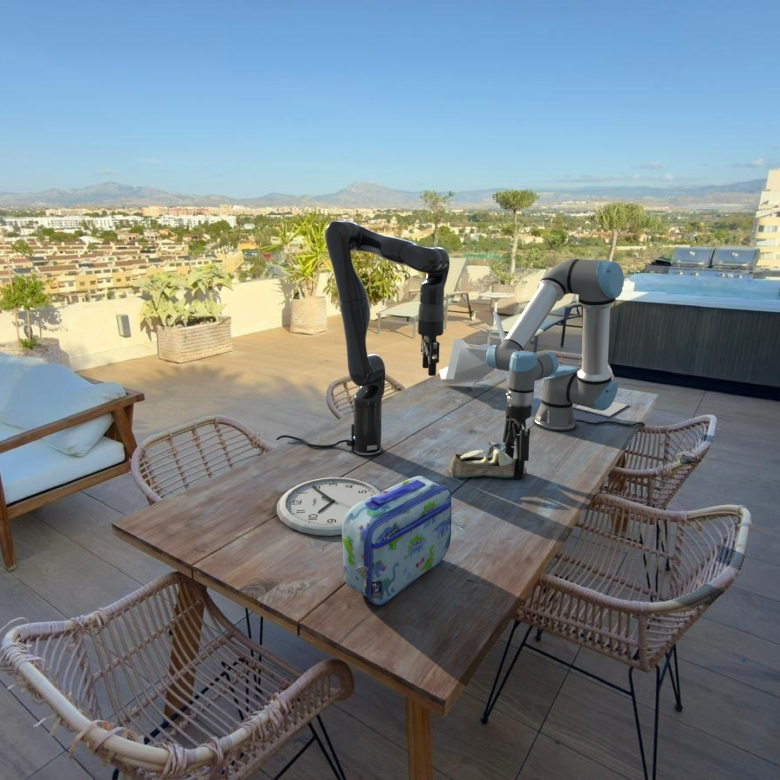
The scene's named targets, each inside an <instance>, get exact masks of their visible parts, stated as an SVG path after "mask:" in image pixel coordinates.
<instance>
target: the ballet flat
mask: <svg viewBox="0 0 780 780" xmlns="http://www.w3.org/2000/svg"><path fill="white" fill-rule="evenodd" d="M480 454H484V456H478V455H480ZM514 459H515V458H514V457H513V458H511V457H509V456H508V455H507V454H505V452H503V451H502V450H501V449H499V448H493V450H492V456H488V455H487V453H486V451H485V449H476V450H471V451H468V452H466V453H464V454H459V453H454V454H453V456H452V457H451V459H450V462H449V464H448V471H449V473H450V475H451V477H453V478H456V479H467V478H475V477H483V476H493V477H494V478H495V477H496V478H513V477H514V466H515V460H514ZM527 471H528V470H527V467H525V466H524V472H523V475H524V474H526V473H527Z"/></svg>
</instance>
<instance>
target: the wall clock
mask: <svg viewBox="0 0 780 780" xmlns="http://www.w3.org/2000/svg"><path fill="white" fill-rule="evenodd" d="M380 492H382V491H381V490H380V489H379V488H377V487H376V486H374V485H372V484H371V483H369V482H365V481H362V480H359V479H355V478H349V477H338V476H337V477H335V476H333V477H332V476H331V477H322V478H317V479H312V480H307V481H305V482H302V483H299V484H297V485H295V486H293V487H292V488H290V489H288V490H287V491H286V492H285V493H284V494H283V495H281V496H280V498H279V499H278V502H277V503H276V515H277V517H278V518H279V520H280V521H281V522H282V523H283V524H285V525H286V526H287V527H288V528H290V529H293V530H295V531H297V532H299V533H303V534H308V535H312V536H327V537H328V536H329V537H331V536H332V537H333V536H342V525H343V521H344V518H345V516H346V514H347V512H348V511H349V510H350V509H351V508H352V507H353V506H354V505H356V504H358V503H360V502H362V501H364V500H366V499H368V498H370V497H372V496H374V495H376V494H378V493H380Z"/></svg>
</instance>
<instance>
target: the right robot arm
mask: <svg viewBox="0 0 780 780" xmlns="http://www.w3.org/2000/svg"><path fill="white" fill-rule="evenodd" d="M624 284H625V277H624V271H623V268H622V266H621V265H620V264H619V263H618V262H616V261H614V260H613V261H611V260H606V259H585V258H583V259H582V258H570V259H566V260H564V261H561V262H560V263H558V264H557V265H555V266H554V267H552V268H551V269H550V270H548V271H547V272H546V273H545V274H544V276H542V278H541V279H540V281H539V283H538V284H537V287H536V289H537V290H536V292H535V294H534V295H533V296H532V297H531V299H530V301H529V302H528V304H527V305H526V307H524V310H523V311H522V313H521V314H520V316H519V317H518V318H517V320H516V321H515V323H514V324H513V326H512V328H511V329H510V330H509V331H508V333H507V335H505V337H506V338H505V339H504V341H503V342H502V341H501V343H500V344H492V345H490V348H489V349H488V351H487V354H486V361H487V364H488V365H489V366H490V367H493V368H496V369H495V370H499V371H504V370H505V371H509V384H507V392H506V394H505V396H506V406H505V424H504V430H503V436H502V443H504V453H505V454H507V455H508V456H509V457H511V458H513V459H514V460H515V466H514V477H512V479H513V480H515V481H516V480H523V479H524V474H523V472H524V467H525V462H529V459H530V435H531V428H527V420H528V419H530V418H531V417H532V413H533V405H532V404H533V403H534V395H535V383H536V381H539V380H542V379H543V381H542V382H543V383H542V394H541V402H540V405H539V407H538V410H537V411H536V413H535V417H534V424H535V425H536V426H537V427H539V428H542V429H544V430H549V431H556V432H567V431H572V430H574V429H575V428H576V422H577V423H582V424H588V425H600V424H615V425H619V426H623V427H635V426H637V425H642V426H643V427H644V426H645V427H646V423H644V422H643V421H637V422H635V423H624V422H621V421H620V422H619V421H615V420H614V421H613V420H602V421H601V420H600V421H595V422H594V421H587V420H584V419H583V420H582V419H576V418H575V417H576V416H575V413H574V407H573V405H576V406H578V405H581V406H584V407H588V408H592V409H596V410H601V411H603V410H606V409H608V408H609V407H610V405H611V404H612V403H613V401H614V402H615V399H616V396H617V394H618V389H619V383H618V381H617V380H615V379H613V372H612V371H611V370H610V369H609V368H608V366H609V347H610V345H609V343H610V321H611V306H612V305H613V304H614V303H615V302H616V299H617V298H619V297H620V296H621V294H622V292H623V287H624ZM569 294H571V295H578V303H579V304H580V305H581V306H582V338H581V339H582V342H581V368H580V369H579V370H578V368H577V367H576V366H572V365H559V359H558V358H557V356H556V355H555V354H554V353H552V352H548V351H545V352H544V351H542V352H539V353H538V352H534V351H528V350H526V349H527V348H528V346H529V344H531V342H532V340H533V339H534V337H535V336H536V334H537V333H538V332H539V329H540V328H541V327H542V325H543V323H544V322H545V320H546V319H547V318H548V316H549V314H550V313H551V312H552V310H553V308H554V307H555V305H556V304H557V302H560V301H561V300H563V299H564V297H565V296H567V295H569ZM515 454H516V458H514V457H515V456H514V455H515Z"/></svg>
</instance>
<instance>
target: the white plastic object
mask: <svg viewBox="0 0 780 780" xmlns="http://www.w3.org/2000/svg"><path fill="white" fill-rule="evenodd" d="M492 315H493V319H494V321H495V324H496V325H495V326H496V328H497V332H498V335H499V338H500V342H501V343H502V342H503V341H504V339H505V338H506V334H505V331H504V328H503V325H502V321H501V318H500V315H499V314H498V312H497V311H496V310H495V311H492ZM490 347H491V345H490V344H489V343H488V342H487V343H483V344H479V345H473V346H469V345H468V343H466V342H465V340H464V339H463V338H460V339H458V338H454V340H453V344H452V349H451V353H450V357H449V362H448V366H446V367H444V368H442V369H440V370H439V371H438V372H439V376H440V381H442V383H443V384H444V385H445V386H449V385H458V384H467V383H468V384H469V383H473V384H477V383H480V382H482V381H484V378H485V377H486V376H487V375H489V374H490V373H492V372H494V371H495V370H497V369H496V368H493V367H490V366H489V365H488V364H487V361H486V354H487V351H488V349H489V348H490ZM503 373H504V376H505V380H506V383H507V385H508V384H509V371H505V370H503Z"/></svg>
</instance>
